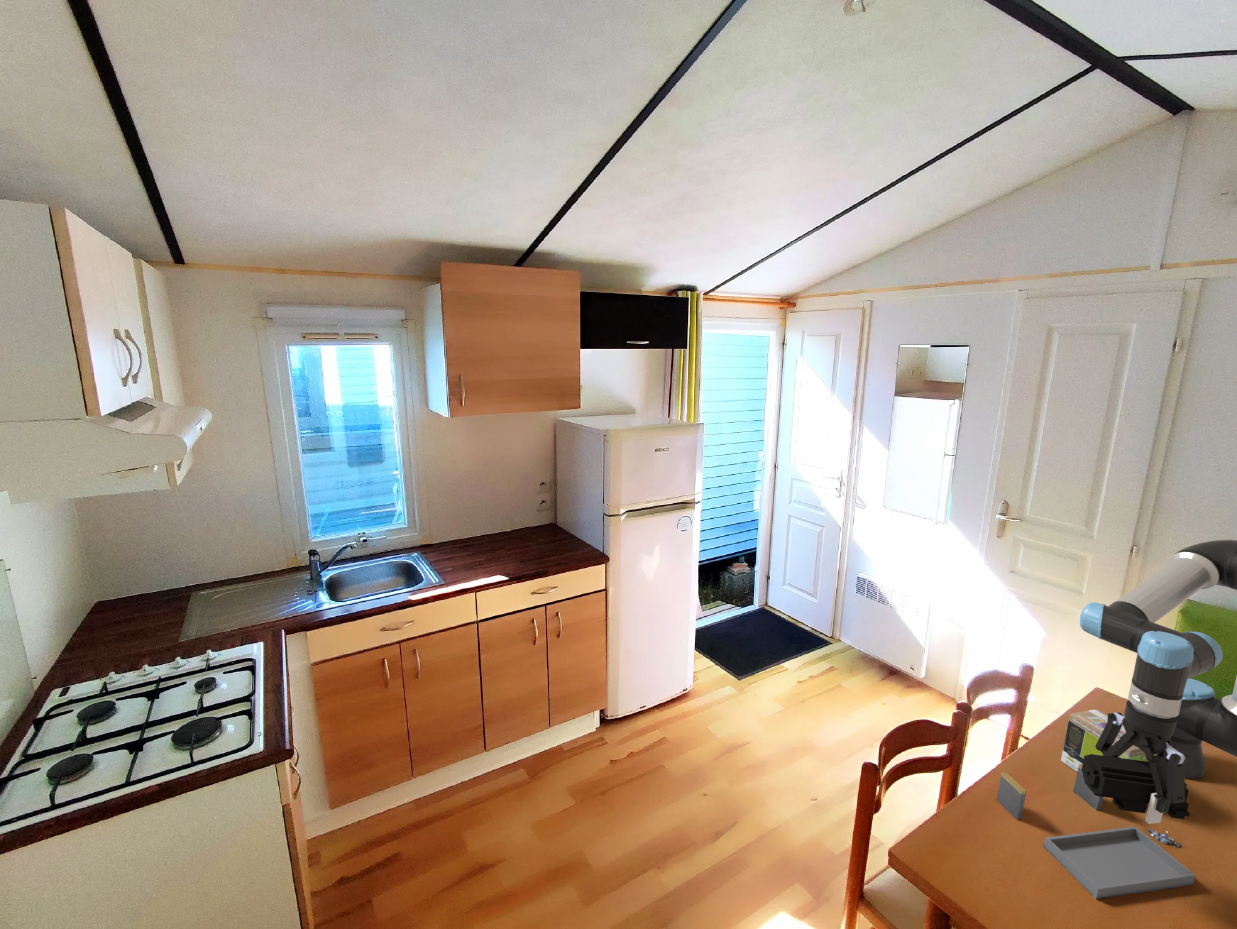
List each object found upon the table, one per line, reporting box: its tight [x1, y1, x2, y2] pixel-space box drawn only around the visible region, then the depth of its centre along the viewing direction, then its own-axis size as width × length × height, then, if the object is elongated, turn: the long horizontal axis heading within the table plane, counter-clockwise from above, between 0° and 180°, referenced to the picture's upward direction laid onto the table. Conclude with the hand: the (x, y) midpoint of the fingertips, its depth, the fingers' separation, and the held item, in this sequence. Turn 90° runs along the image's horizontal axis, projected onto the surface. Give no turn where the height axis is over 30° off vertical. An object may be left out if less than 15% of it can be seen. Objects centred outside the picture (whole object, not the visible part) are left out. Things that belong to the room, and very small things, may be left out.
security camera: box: [1081, 754, 1191, 820], centre depth 117 cm, size 7×18×10 cm, turn 79°
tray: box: [1043, 826, 1196, 900], centre depth 121 cm, size 23×12×2 cm, turn 98°
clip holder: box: [996, 764, 1104, 821], centre depth 136 cm, size 23×6×8 cm, turn 98°
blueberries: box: [1147, 828, 1181, 849], centre depth 128 cm, size 7×8×2 cm
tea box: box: [1060, 708, 1157, 773], centre depth 144 cm, size 15×10×15 cm, turn 14°
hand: (1129, 803), depth 118 cm, fingers closed on security camera, 8 cm apart
